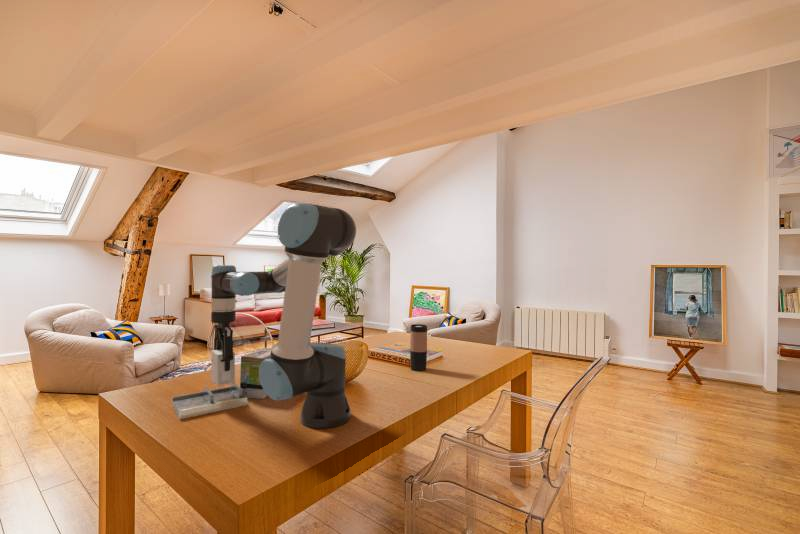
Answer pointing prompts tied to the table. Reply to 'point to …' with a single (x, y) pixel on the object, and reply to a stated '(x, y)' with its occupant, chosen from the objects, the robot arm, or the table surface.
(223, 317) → the robot arm
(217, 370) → the small box
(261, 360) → the tea box
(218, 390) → the grey shallow tray
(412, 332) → the travel mug
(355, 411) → the table surface
